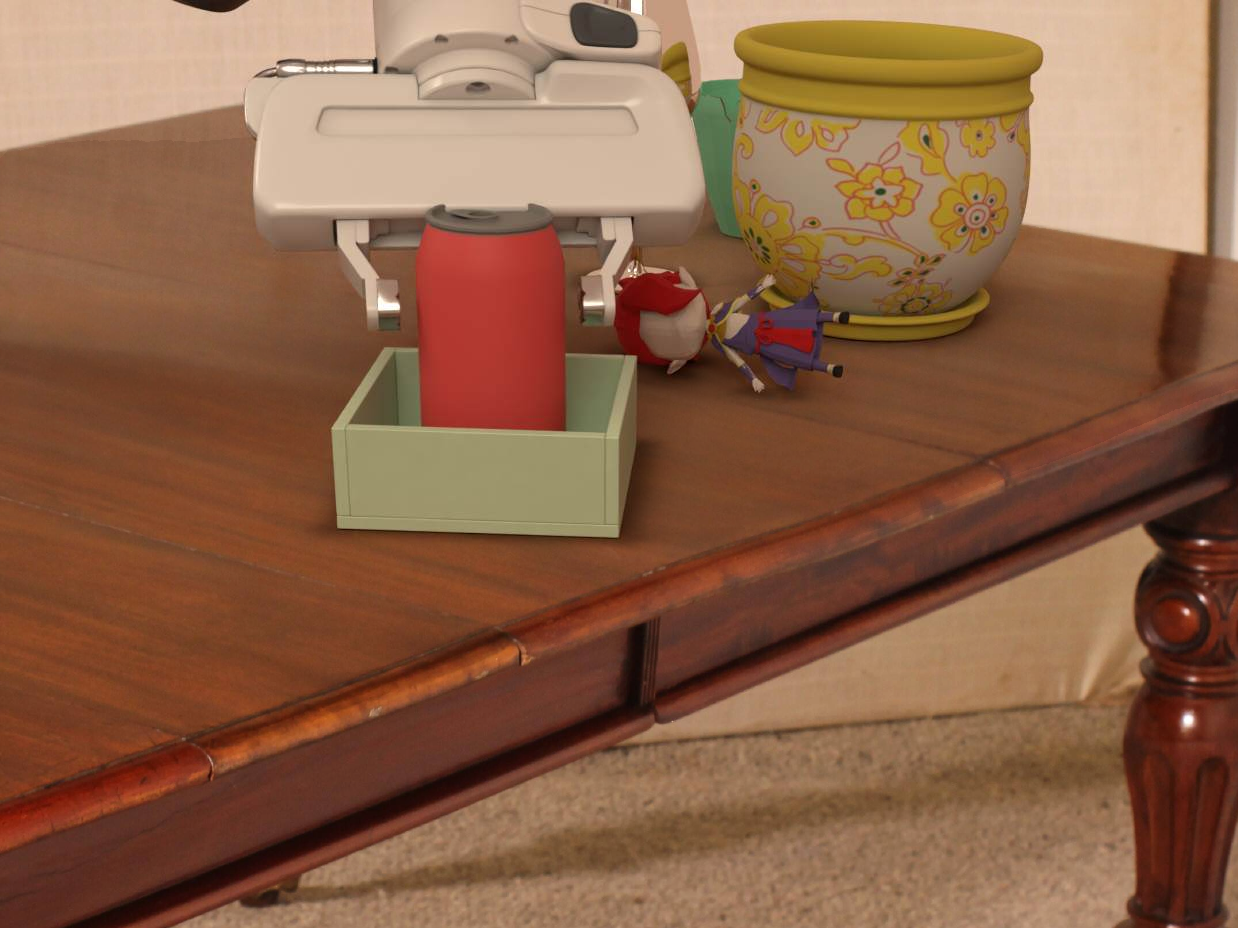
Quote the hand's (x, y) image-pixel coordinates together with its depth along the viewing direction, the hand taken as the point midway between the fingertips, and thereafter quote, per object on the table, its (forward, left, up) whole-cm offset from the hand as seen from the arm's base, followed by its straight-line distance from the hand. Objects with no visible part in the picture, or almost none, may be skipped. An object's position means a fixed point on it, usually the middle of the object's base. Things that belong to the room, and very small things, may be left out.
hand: (492, 322), depth 83 cm
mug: (+14, +55, -8) cm, 57 cm away
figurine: (+10, +19, -8) cm, 23 cm away
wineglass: (+4, +39, -8) cm, 40 cm away
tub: (0, +1, -8) cm, 8 cm away
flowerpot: (+19, +33, -8) cm, 39 cm away
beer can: (0, +1, -7) cm, 7 cm away
